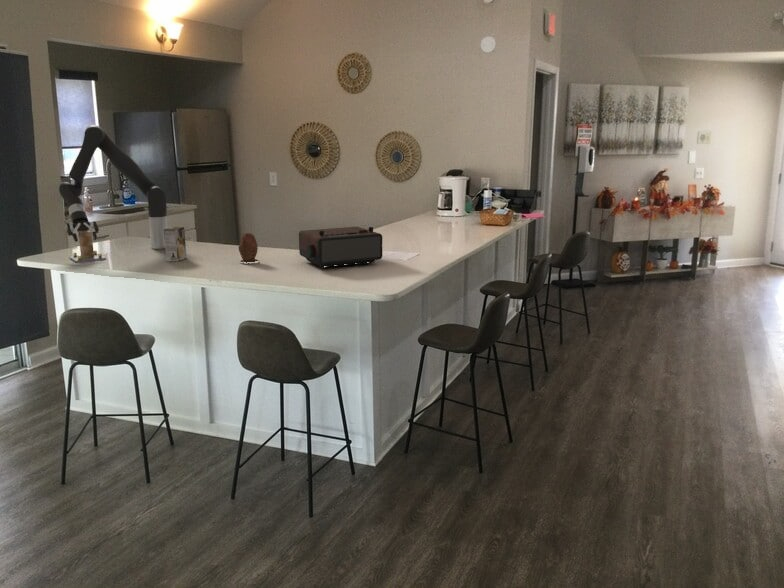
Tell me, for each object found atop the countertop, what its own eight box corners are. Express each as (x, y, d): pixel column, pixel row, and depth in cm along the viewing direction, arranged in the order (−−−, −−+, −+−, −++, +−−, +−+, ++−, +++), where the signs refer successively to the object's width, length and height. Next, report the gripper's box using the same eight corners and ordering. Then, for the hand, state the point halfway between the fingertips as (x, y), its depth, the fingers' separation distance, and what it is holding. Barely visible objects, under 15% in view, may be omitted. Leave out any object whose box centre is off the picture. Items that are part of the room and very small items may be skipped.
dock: (99, 255, 351) (98, 249, 350) (106, 259, 340) (105, 253, 339) (69, 258, 343) (69, 252, 342) (76, 262, 332) (75, 256, 331)
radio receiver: (314, 272, 310) (313, 233, 306) (294, 262, 333) (293, 226, 329) (383, 265, 326) (382, 228, 322) (359, 256, 349) (359, 221, 345)
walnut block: (91, 255, 345) (88, 230, 342) (94, 257, 341) (91, 231, 338) (81, 256, 342) (78, 231, 339) (83, 258, 338) (80, 232, 335)
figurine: (239, 262, 336) (239, 231, 334) (260, 262, 337) (259, 232, 335) (237, 264, 327) (236, 233, 325) (258, 264, 328) (257, 233, 326)
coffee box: (175, 258, 344) (172, 226, 340) (187, 258, 343) (184, 226, 339) (166, 261, 335) (163, 229, 331) (177, 262, 334) (175, 229, 330)
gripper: (63, 211, 338) (71, 236, 332) (93, 209, 346) (101, 234, 340) (62, 220, 343) (70, 246, 337) (92, 218, 352) (100, 243, 346)
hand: (86, 240), depth 339 cm, fingers open, 8 cm apart
